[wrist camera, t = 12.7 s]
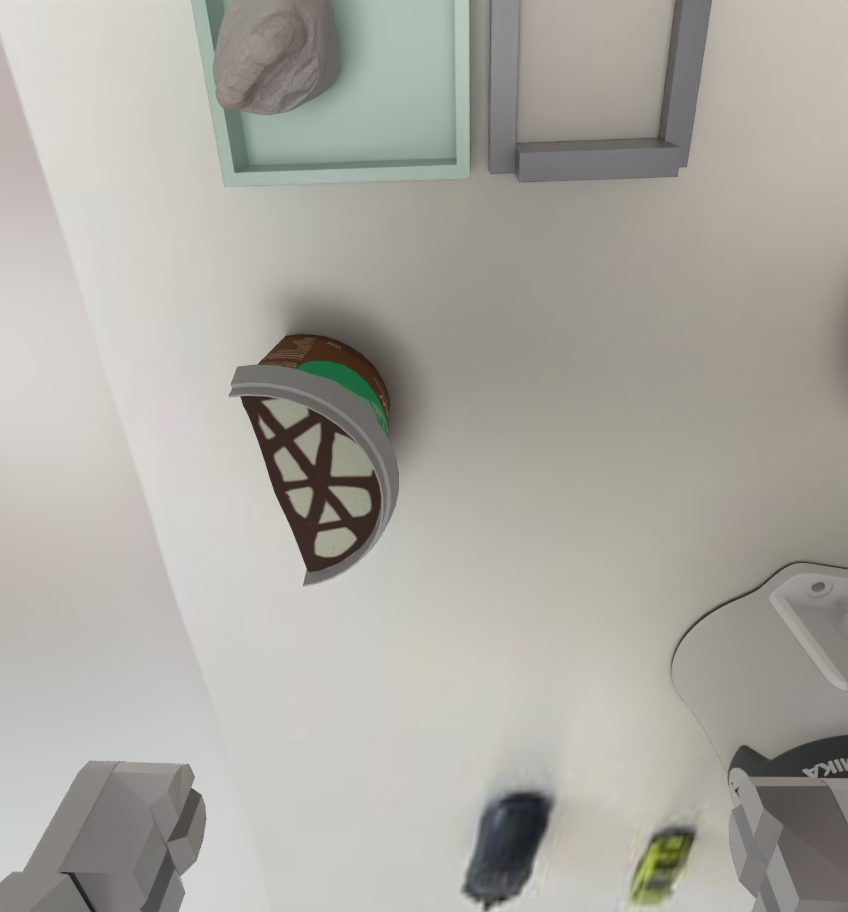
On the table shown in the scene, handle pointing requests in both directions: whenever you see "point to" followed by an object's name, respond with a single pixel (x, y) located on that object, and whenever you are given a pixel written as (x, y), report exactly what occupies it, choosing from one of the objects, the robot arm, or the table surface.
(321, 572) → the food container
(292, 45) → the grey rounded lump
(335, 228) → the table surface
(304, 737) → the table surface
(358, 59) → the tray
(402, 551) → the table surface
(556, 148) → the holder
